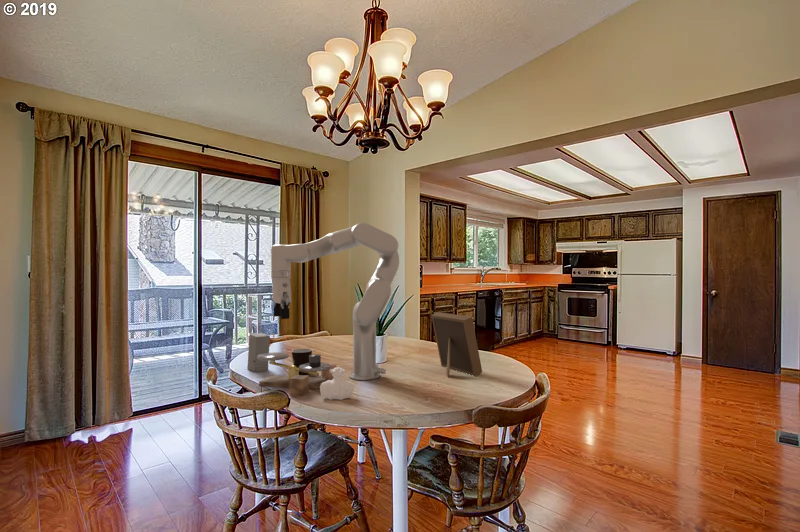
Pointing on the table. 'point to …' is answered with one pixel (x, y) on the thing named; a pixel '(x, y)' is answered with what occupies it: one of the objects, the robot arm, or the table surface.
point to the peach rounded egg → (328, 372)
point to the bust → (337, 386)
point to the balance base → (284, 381)
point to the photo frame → (457, 343)
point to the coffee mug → (301, 357)
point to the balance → (308, 368)
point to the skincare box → (258, 351)
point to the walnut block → (299, 385)
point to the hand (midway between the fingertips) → (281, 317)
